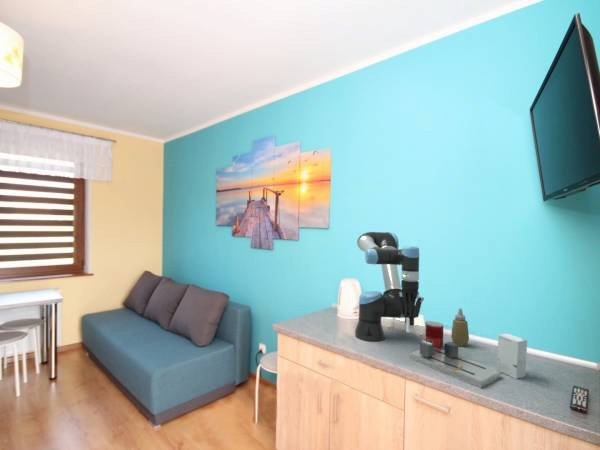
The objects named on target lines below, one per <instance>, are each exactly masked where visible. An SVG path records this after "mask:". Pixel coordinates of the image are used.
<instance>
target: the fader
mask: <svg viewBox="0 0 600 450" xmlns="http://www.w3.org/2000/svg"><path fill="white" fill-rule="evenodd" d="M419 349H420V354H421V355H423V356H426V357H431V356H433V355H434V344H433V343H430V342H427V341H426V340H421V341H420V342H419Z"/></svg>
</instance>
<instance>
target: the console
mask: <svg viewBox="0 0 600 450" xmlns="http://www.w3.org/2000/svg"><path fill="white" fill-rule="evenodd" d="M443 346H444V350H443V349H442V348H436V347H434V355H433V356H431V357H426V356H423V355H421V354H420V348H419V349H417V350H414V351H411V352H409V359H411V360H412V361H415V362H417V363H419V364H422V365H424V366H427V367H429V368H431V369H434V370H437V371H439V372H440V373H443V374H446V375H448V376H451V377H453V378H456V379H458V380H460V381H462V380H463V382H465V383H467V382H468V383H467V384H470V385H472V386H475V387H477V388H480V389H483V388H484V387H486V386H487V385H490V384H491V383H493V382H494V381H495V382H496V381H497V380H498V379H500V378H501V376H502V375H501V374H502V372H501V371H500V370H498V369H496V368H495V367H492V366H489V365H486V364H483V363H480V362H477V361H475V360H472V359H469V358H466V357H464V356H460V355H459V346H458V344H455V343H453V341H452V342H451V341H448V342H445V343H444V345H443Z"/></svg>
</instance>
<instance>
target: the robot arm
mask: <svg viewBox="0 0 600 450" xmlns="http://www.w3.org/2000/svg"><path fill="white" fill-rule="evenodd" d="M356 243H357V244H356V245H357V247H358V248H359V250H361V251H362V252H364V256H365V257H364V259H365V263H366V264H367V265H368V264H369V265H381V271H382V278H383V283H384V291H383V292H381V291H377V290H376V291H375V290H373V291H372V290H371V291H364V292H361V294H360V295H359V297H358V299H359V300H358V322H357V324H356V328H355V331H354V336H355V337H356V338H357V339H360V340H362V341H368V342H379V341H382V340H384V339H385V332H384V330H383V326H382V318H391V319H392V318H393V319H394V318H395V319H404V324H405V331H406V333H409V334H411V333H413V331H414V330H413V326H414V324H415V318H419V315H420V311H421V307H422V306H421V305H422V303H423V301H424V300H425V298H424V297H423V296H421V295H420V292H419V288H420V283H419V282H420V281H419V280H420V272H419V271H420V248H419V247H418V246H408V245H407V246H406V245H405V246H402V247H401V248H400V249H399V247H400V246H399V237H398V236H397V234H396V232H395V233H394V232H389V231H387V232H386V231H385V232H381V231H368V232H364V233H362V234H361V235H359V237H358V239H357V241H356ZM398 266H401V281H400V275H399V269H398Z"/></svg>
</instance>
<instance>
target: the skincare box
mask: <svg viewBox="0 0 600 450" xmlns="http://www.w3.org/2000/svg"><path fill="white" fill-rule="evenodd" d="M497 341H498V342H497V354H496V356H497V357H496V368H495V369H498V370H500V371H501V374H502V373H503V374H505V375H507V376H510V377H512V378H513V379H515V380H517V379H521V378H524V377H526V367H527V366H526V364H527V351H528V350H527V349H528V348H527V347H528V340H526V339H524V338H521V337H520V336H516V335H513V334H510V333H501V334H498V340H497Z"/></svg>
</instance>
